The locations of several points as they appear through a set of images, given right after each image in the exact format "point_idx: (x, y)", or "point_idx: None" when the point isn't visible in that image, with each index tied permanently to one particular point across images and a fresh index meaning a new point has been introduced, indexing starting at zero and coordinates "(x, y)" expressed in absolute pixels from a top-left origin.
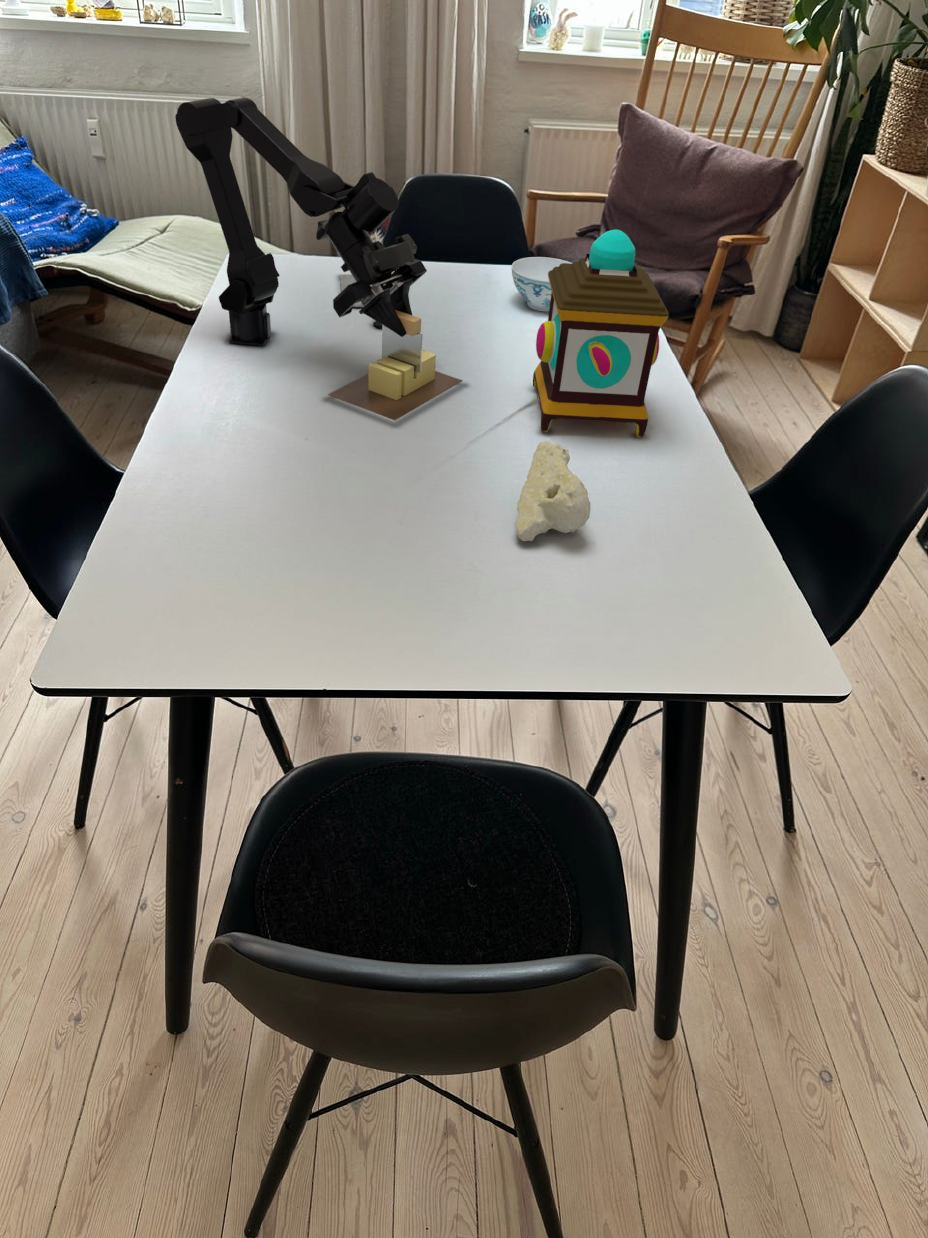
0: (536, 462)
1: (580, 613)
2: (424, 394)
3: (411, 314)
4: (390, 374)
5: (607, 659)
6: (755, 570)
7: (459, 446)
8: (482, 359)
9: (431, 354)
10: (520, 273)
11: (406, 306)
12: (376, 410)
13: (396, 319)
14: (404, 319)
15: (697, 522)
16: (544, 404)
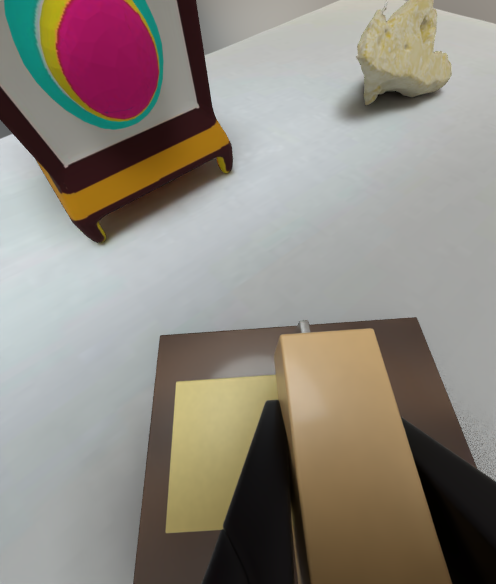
0: (390, 59)
1: (453, 47)
2: None
3: (255, 468)
4: None
5: (468, 28)
6: (301, 25)
7: (355, 214)
8: (2, 395)
9: (184, 393)
10: None
11: (279, 567)
12: (429, 376)
13: (469, 468)
14: (399, 416)
15: (276, 52)
16: (215, 140)
